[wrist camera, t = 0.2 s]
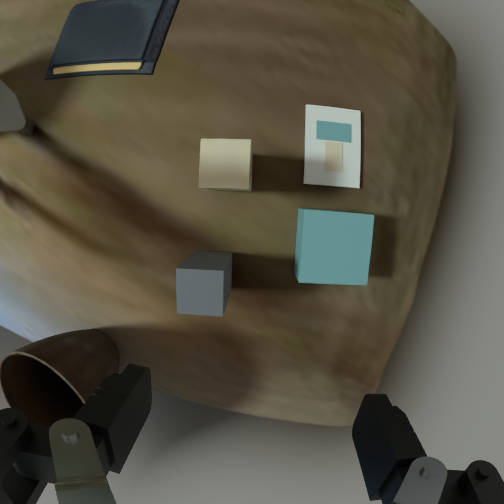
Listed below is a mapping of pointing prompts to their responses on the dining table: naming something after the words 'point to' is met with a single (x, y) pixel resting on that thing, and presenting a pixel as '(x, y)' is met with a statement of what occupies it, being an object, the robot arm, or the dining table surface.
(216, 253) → the charcoal block
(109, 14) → the dark blue-grey book
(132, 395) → the robot arm
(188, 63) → the dining table surface
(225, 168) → the maple block
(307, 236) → the teal base block
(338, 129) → the card
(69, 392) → the plant pot
